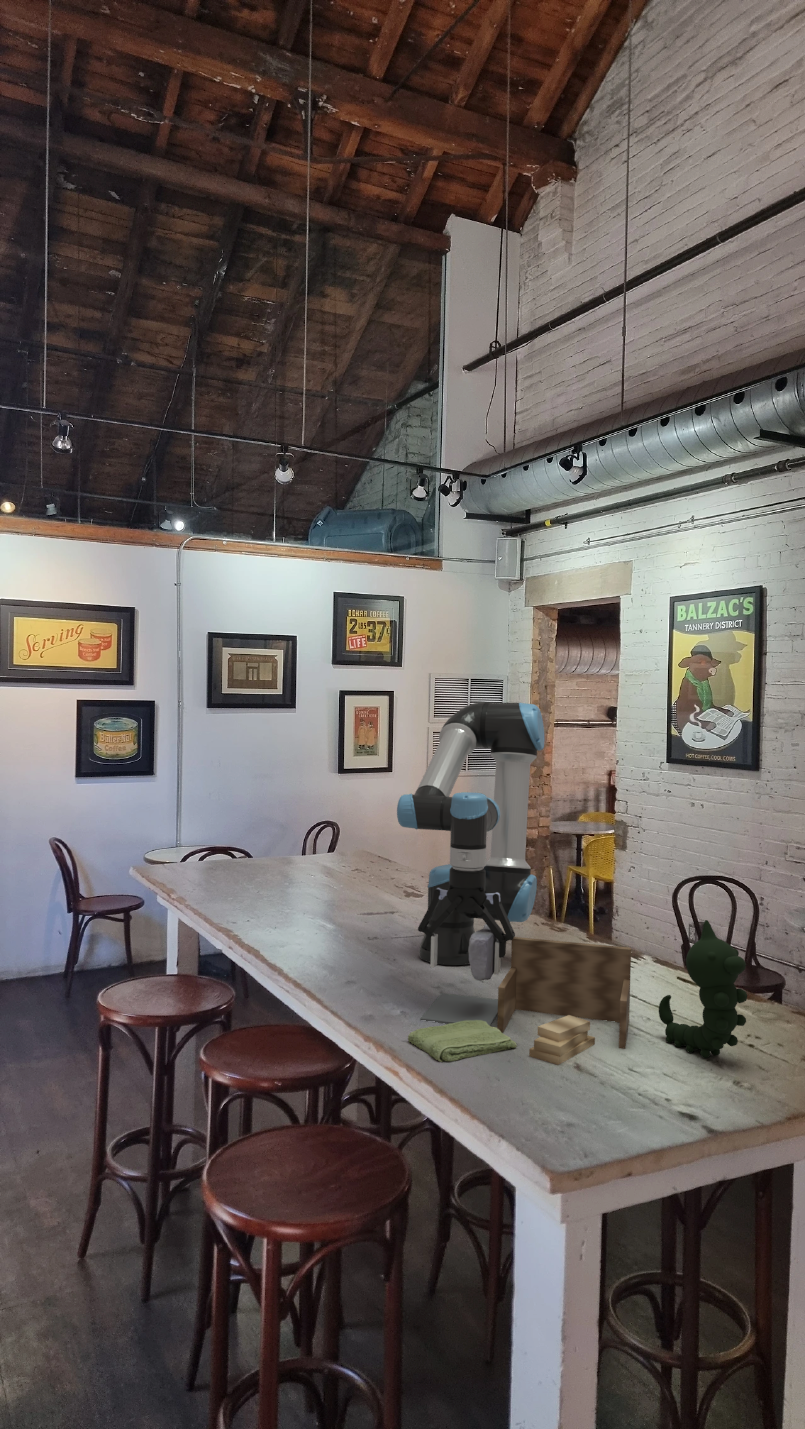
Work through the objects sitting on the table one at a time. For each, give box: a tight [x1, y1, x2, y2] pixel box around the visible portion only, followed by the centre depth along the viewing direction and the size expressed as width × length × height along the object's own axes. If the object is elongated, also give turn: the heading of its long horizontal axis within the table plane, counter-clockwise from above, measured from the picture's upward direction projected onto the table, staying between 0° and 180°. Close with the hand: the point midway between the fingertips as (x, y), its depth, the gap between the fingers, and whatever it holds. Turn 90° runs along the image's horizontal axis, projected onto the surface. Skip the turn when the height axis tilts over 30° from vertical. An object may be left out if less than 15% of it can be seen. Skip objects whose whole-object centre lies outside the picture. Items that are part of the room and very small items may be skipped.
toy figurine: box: [658, 919, 748, 1059], centre depth 175 cm, size 9×19×25 cm, turn 31°
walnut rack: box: [496, 936, 632, 1050], centre depth 187 cm, size 24×16×15 cm, turn 74°
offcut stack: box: [528, 1015, 596, 1066], centre depth 174 cm, size 14×6×5 cm, turn 141°
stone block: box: [468, 923, 503, 982], centre depth 193 cm, size 12×5×10 cm, turn 156°
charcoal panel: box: [419, 992, 498, 1027], centre depth 194 cm, size 14×18×1 cm
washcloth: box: [407, 1020, 518, 1063], centre depth 175 cm, size 13×18×3 cm
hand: (465, 969), depth 194 cm, fingers open, 13 cm apart
